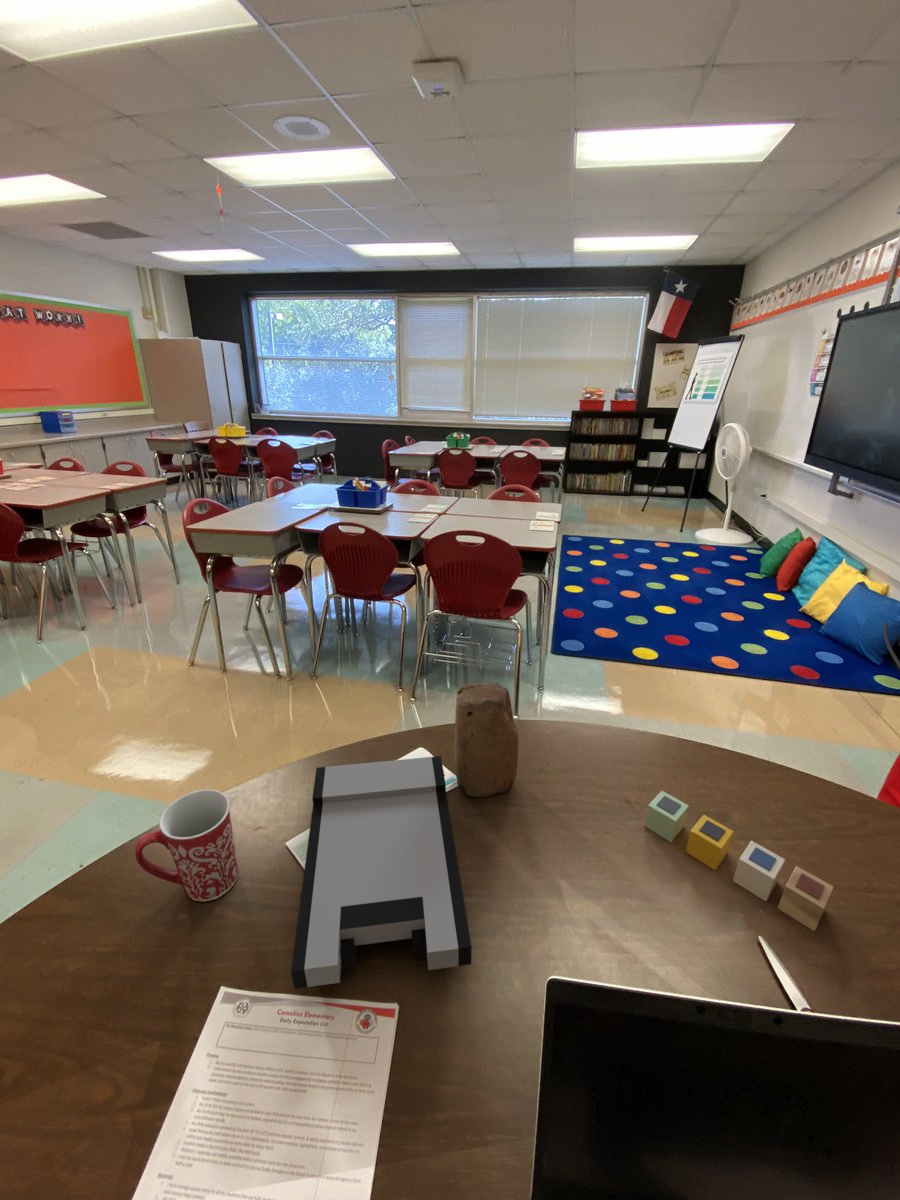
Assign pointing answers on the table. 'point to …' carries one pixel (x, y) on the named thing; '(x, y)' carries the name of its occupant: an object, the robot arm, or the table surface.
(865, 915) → the table surface
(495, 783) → the block
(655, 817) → the block
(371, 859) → the grey notched sloped slab
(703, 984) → the table surface
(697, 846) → the yellow block
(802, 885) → the block
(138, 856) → the mug
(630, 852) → the table surface
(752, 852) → the block
